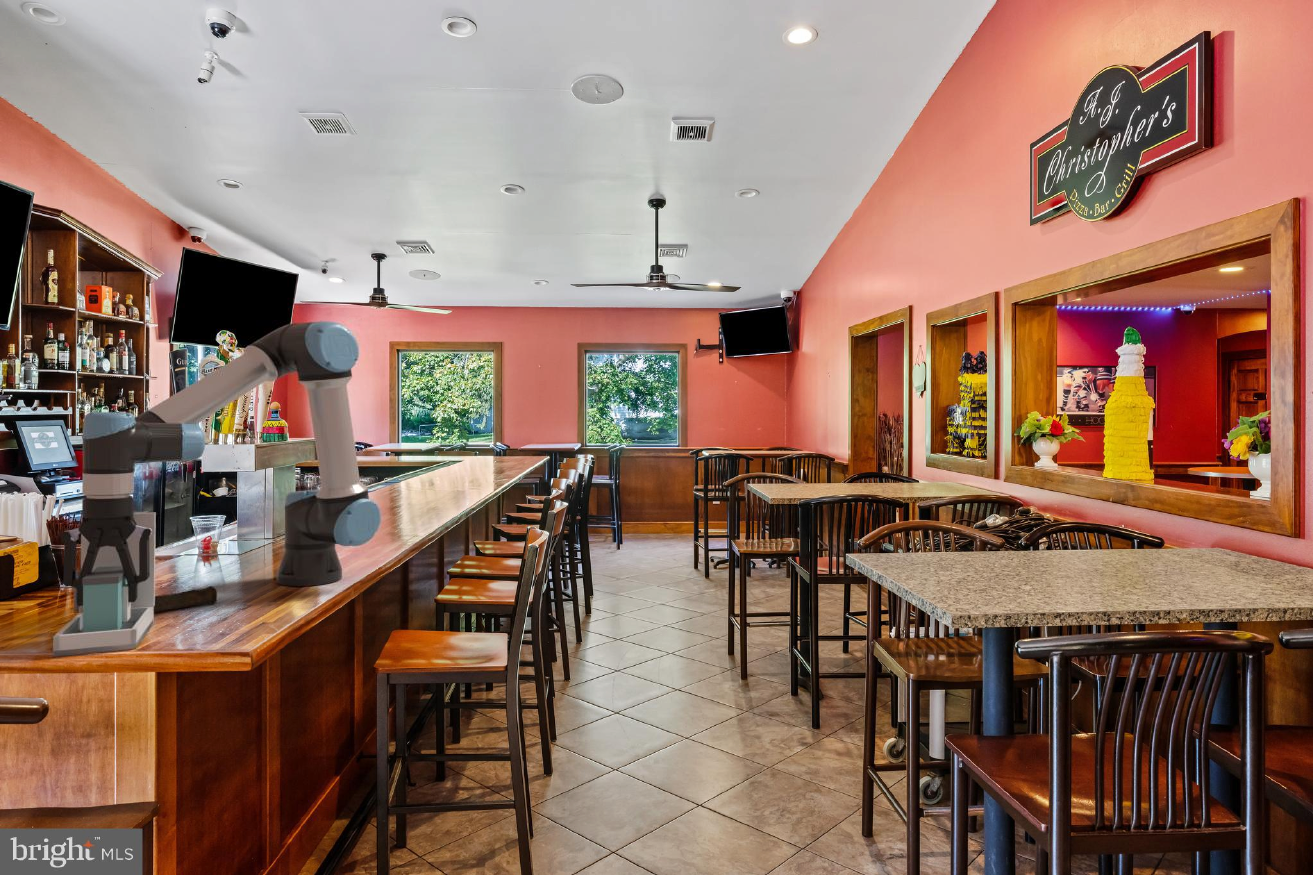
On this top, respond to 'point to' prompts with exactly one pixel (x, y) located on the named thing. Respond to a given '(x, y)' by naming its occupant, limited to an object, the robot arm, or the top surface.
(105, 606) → the block
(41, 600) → the top surface
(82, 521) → the robot arm
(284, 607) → the top surface
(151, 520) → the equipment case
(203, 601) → the hand tool
